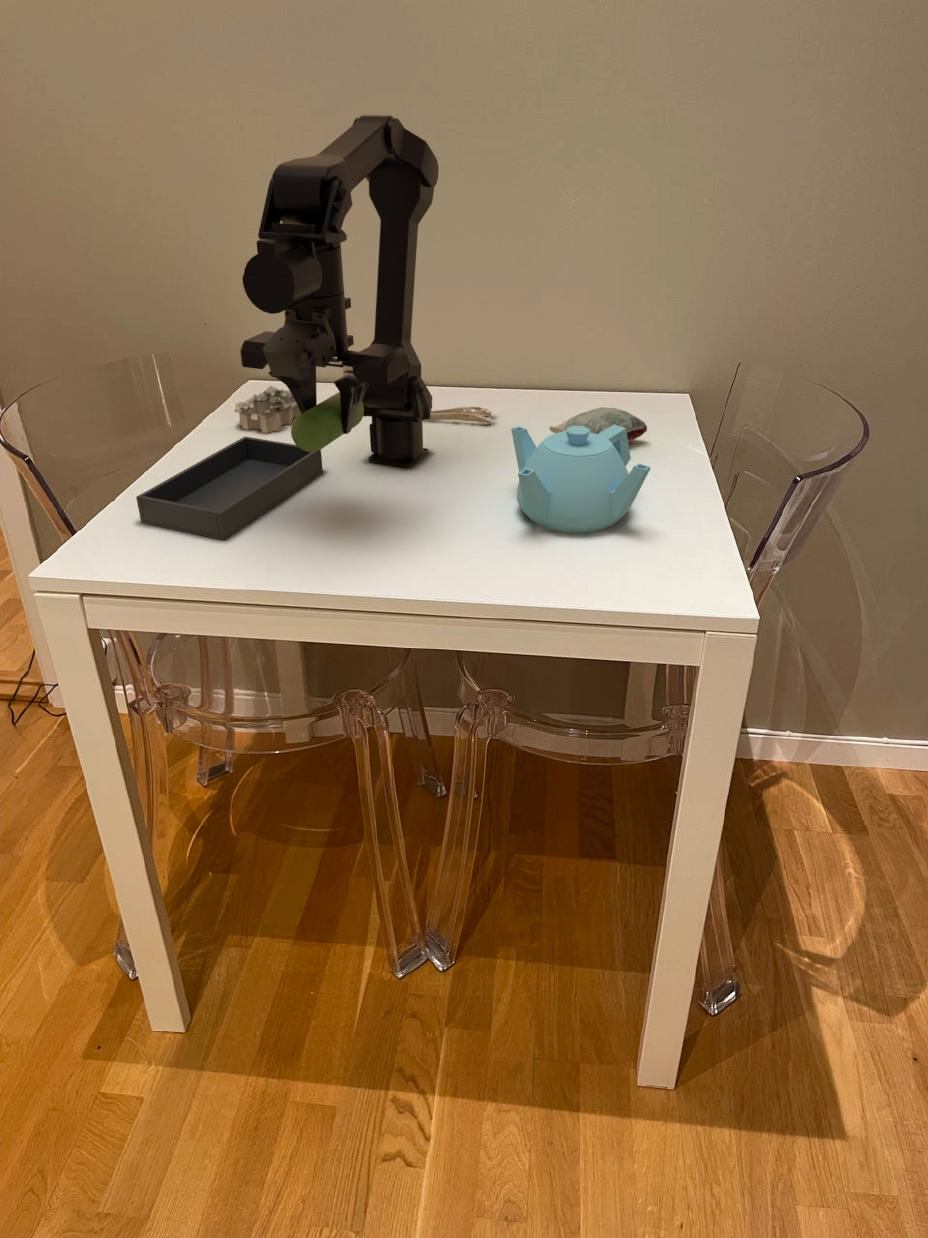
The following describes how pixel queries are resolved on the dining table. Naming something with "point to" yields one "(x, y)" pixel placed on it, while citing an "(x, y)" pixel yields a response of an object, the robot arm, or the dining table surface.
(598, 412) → the packaged food
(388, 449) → the robot arm
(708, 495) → the dining table surface
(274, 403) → the egg carton
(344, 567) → the dining table surface
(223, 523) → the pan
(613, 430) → the teapot
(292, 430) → the squash
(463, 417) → the animal skull
